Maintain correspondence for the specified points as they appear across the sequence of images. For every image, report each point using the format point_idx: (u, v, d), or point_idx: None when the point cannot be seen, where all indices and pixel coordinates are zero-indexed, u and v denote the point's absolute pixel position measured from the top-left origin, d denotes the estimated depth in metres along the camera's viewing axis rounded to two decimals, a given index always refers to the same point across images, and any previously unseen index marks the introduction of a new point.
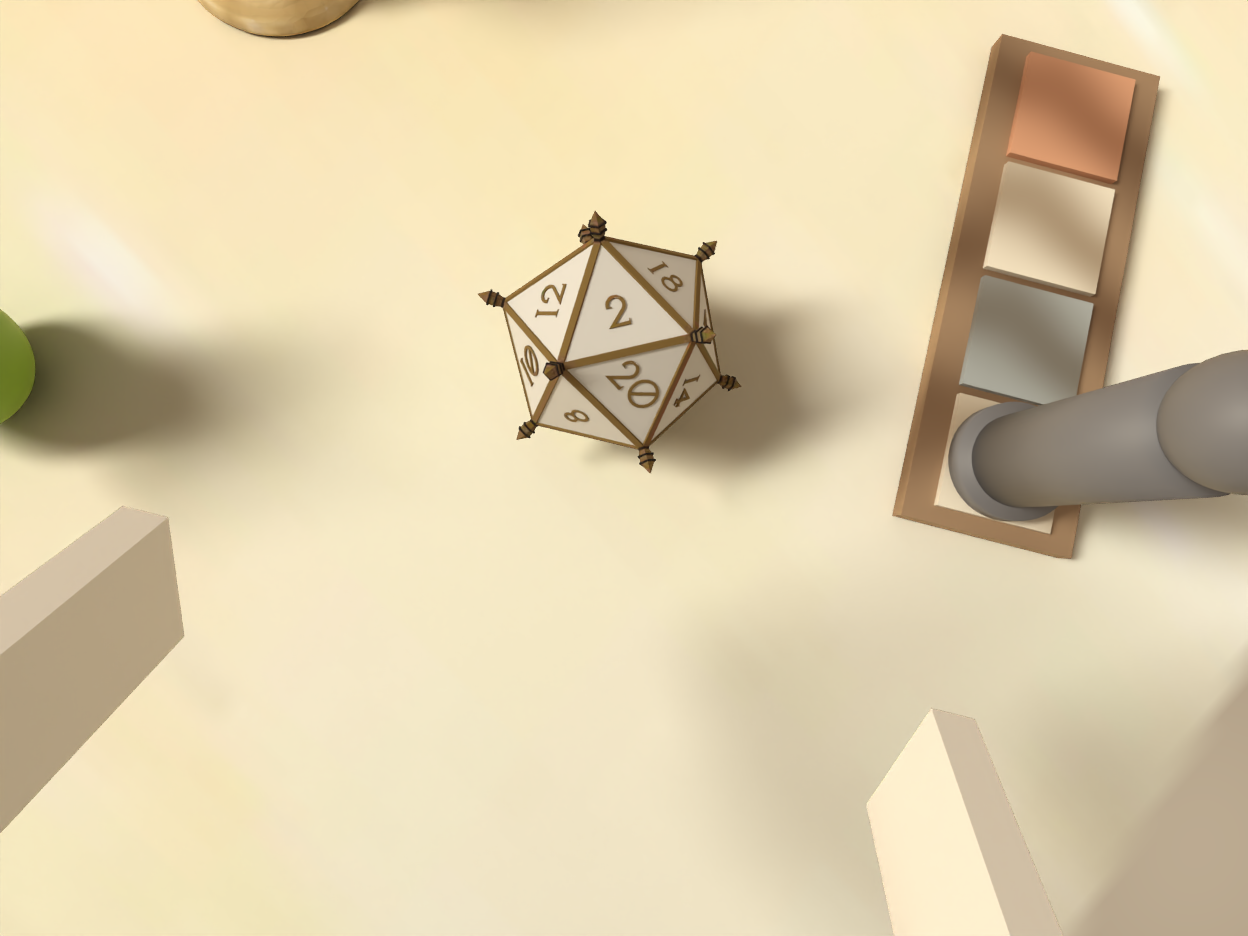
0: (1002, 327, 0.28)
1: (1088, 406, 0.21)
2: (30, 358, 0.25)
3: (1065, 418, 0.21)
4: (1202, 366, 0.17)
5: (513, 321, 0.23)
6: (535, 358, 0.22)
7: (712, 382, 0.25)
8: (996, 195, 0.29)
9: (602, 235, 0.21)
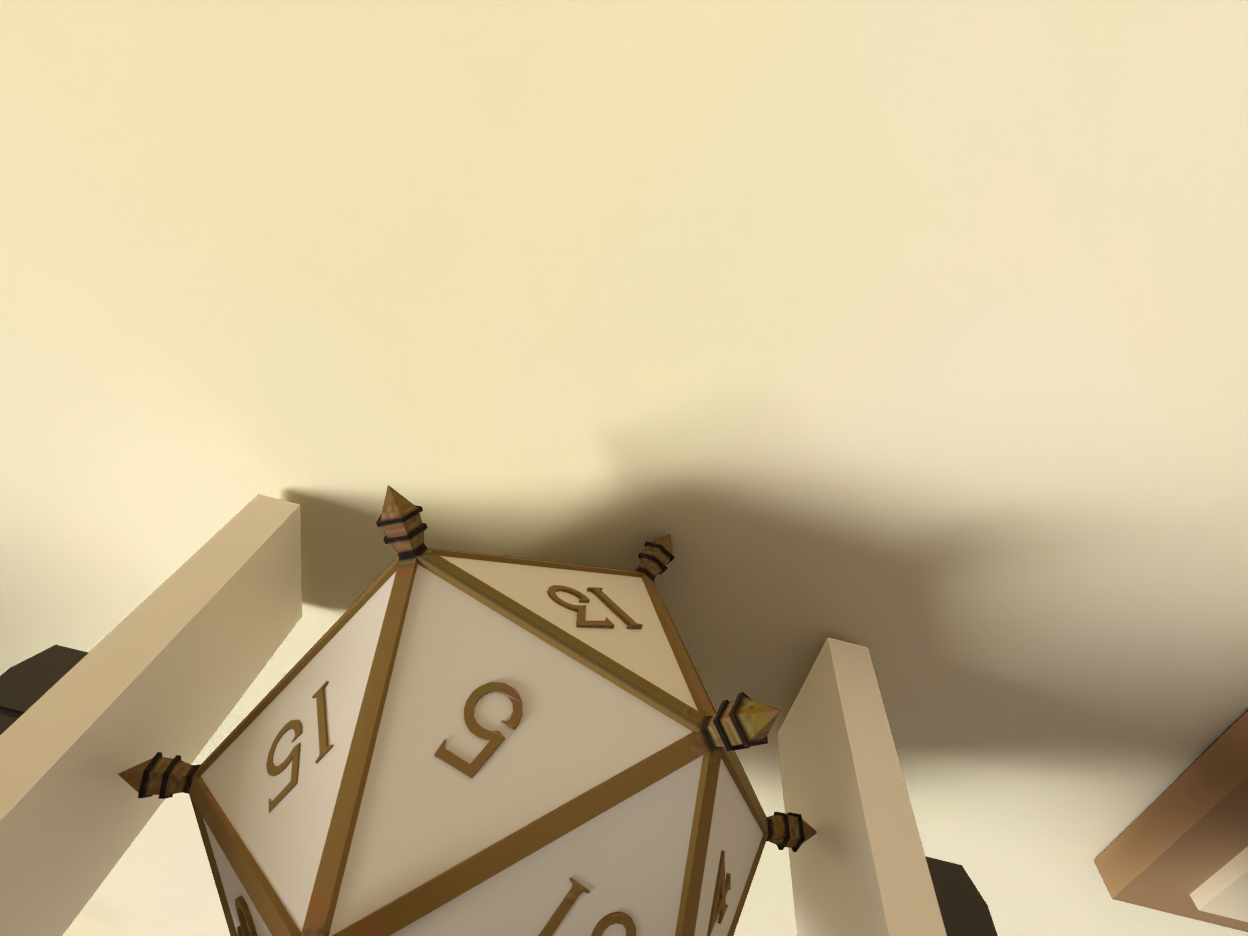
0: None
1: None
2: None
3: None
4: None
5: None
6: None
7: None
8: None
9: None
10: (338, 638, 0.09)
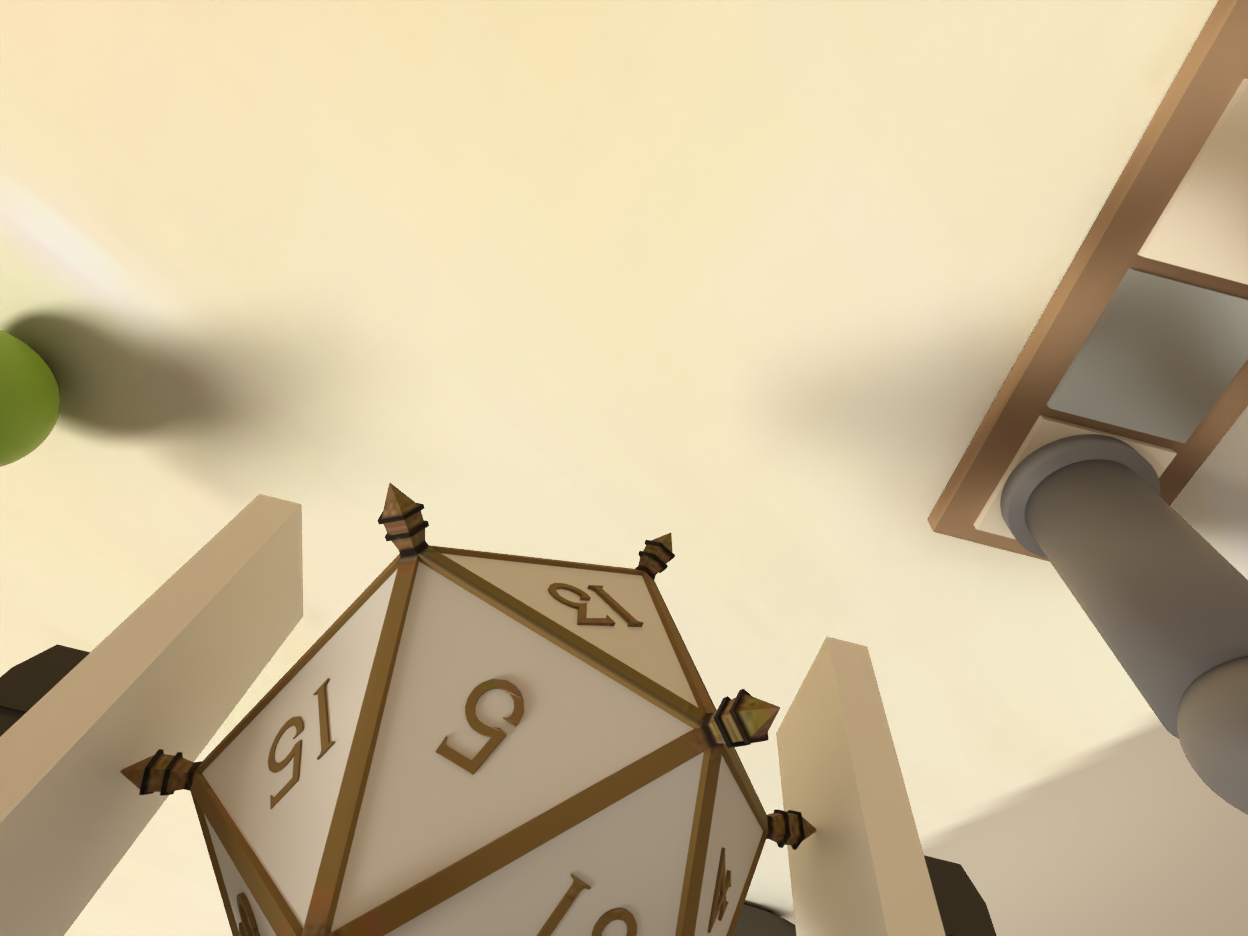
0: (1130, 342, 0.21)
1: (1140, 596, 0.18)
2: (42, 378, 0.25)
3: (1116, 582, 0.19)
4: None
5: None
6: None
7: None
8: (1208, 135, 0.19)
9: None
10: (339, 635, 0.09)
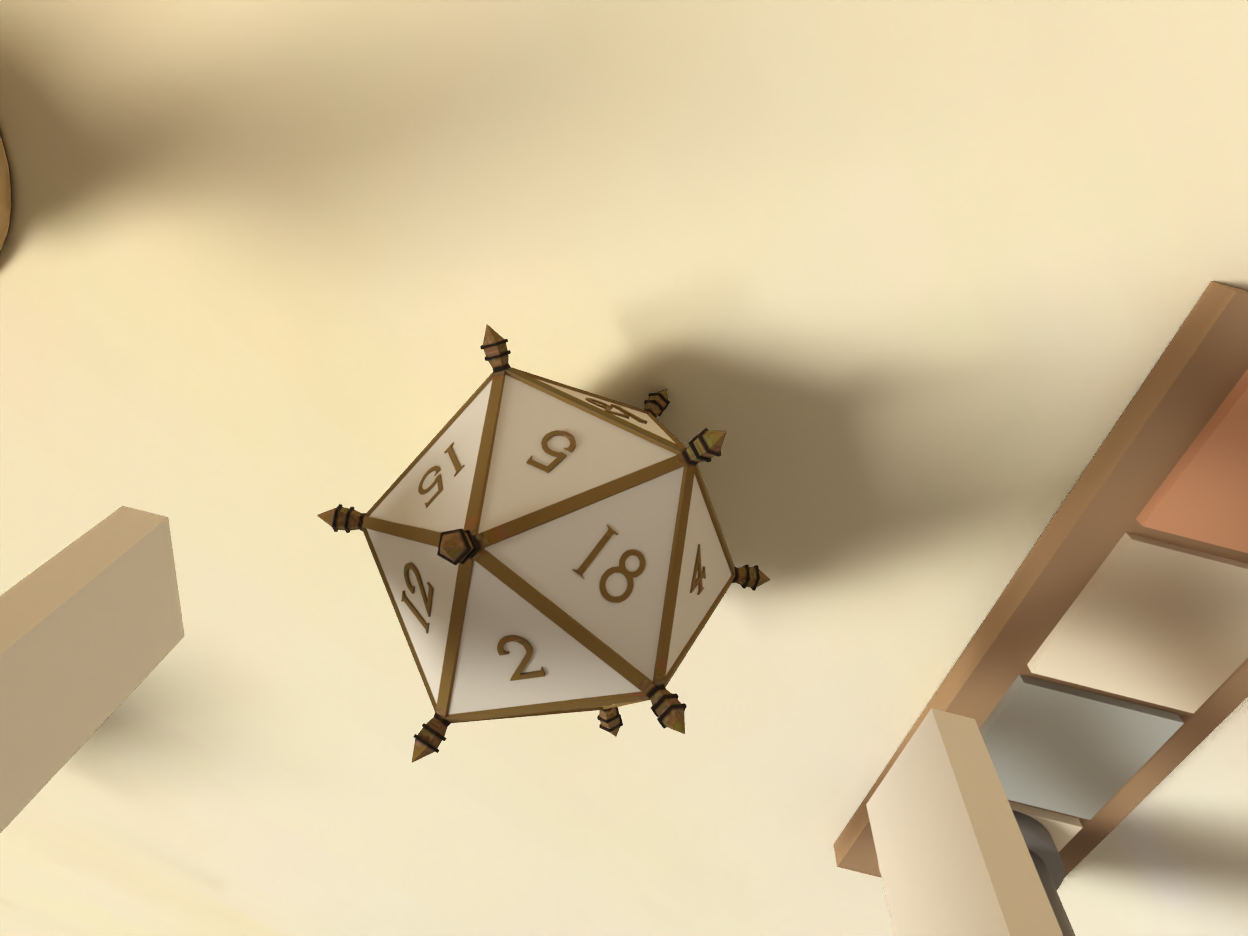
0: (1025, 738, 0.20)
1: None
2: None
3: None
4: None
5: None
6: None
7: None
8: (1092, 574, 0.17)
9: None
10: (456, 422, 0.14)
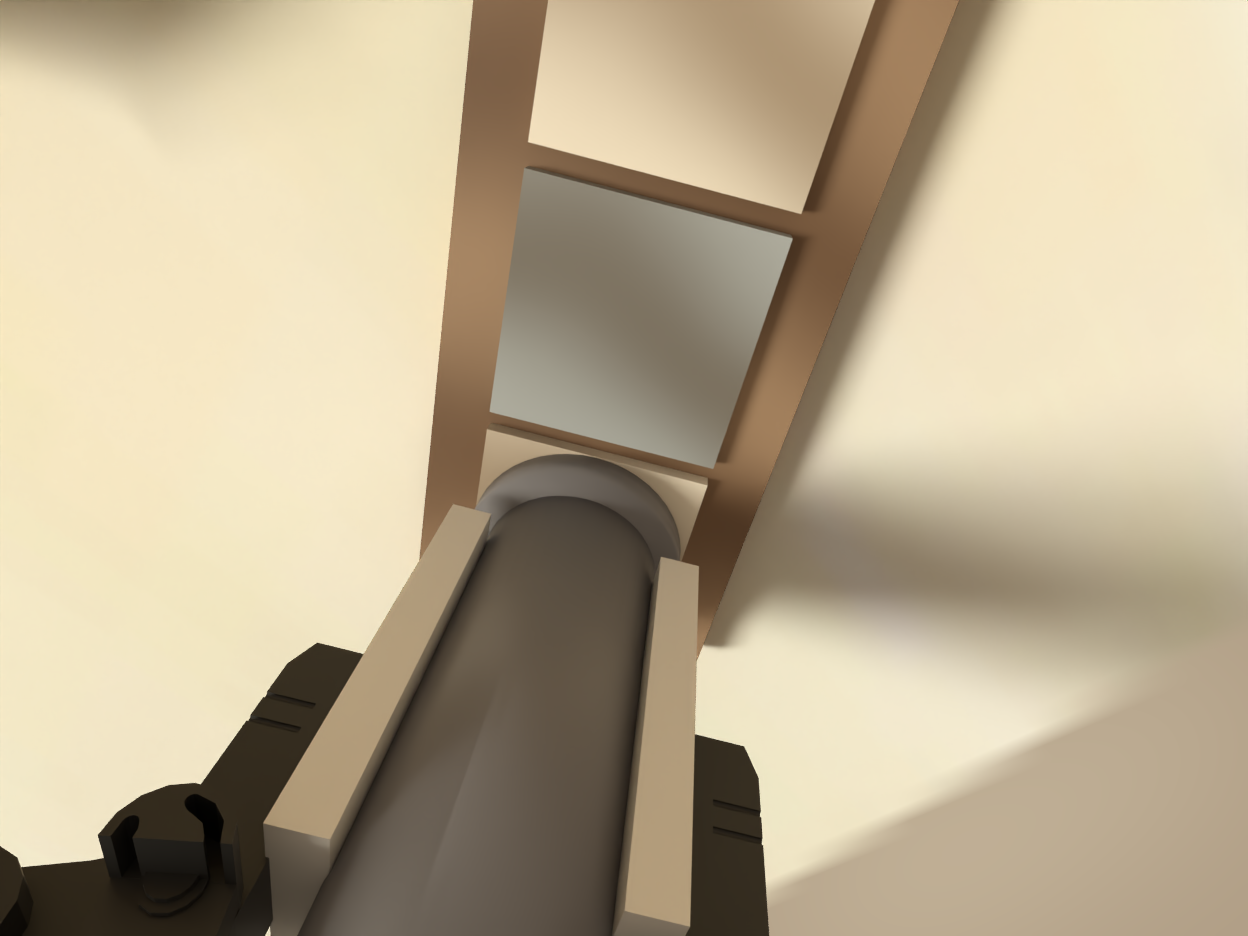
0: (567, 299, 0.12)
1: (372, 782, 0.09)
2: None
3: None
4: None
5: None
6: None
7: None
8: None
9: None
10: None
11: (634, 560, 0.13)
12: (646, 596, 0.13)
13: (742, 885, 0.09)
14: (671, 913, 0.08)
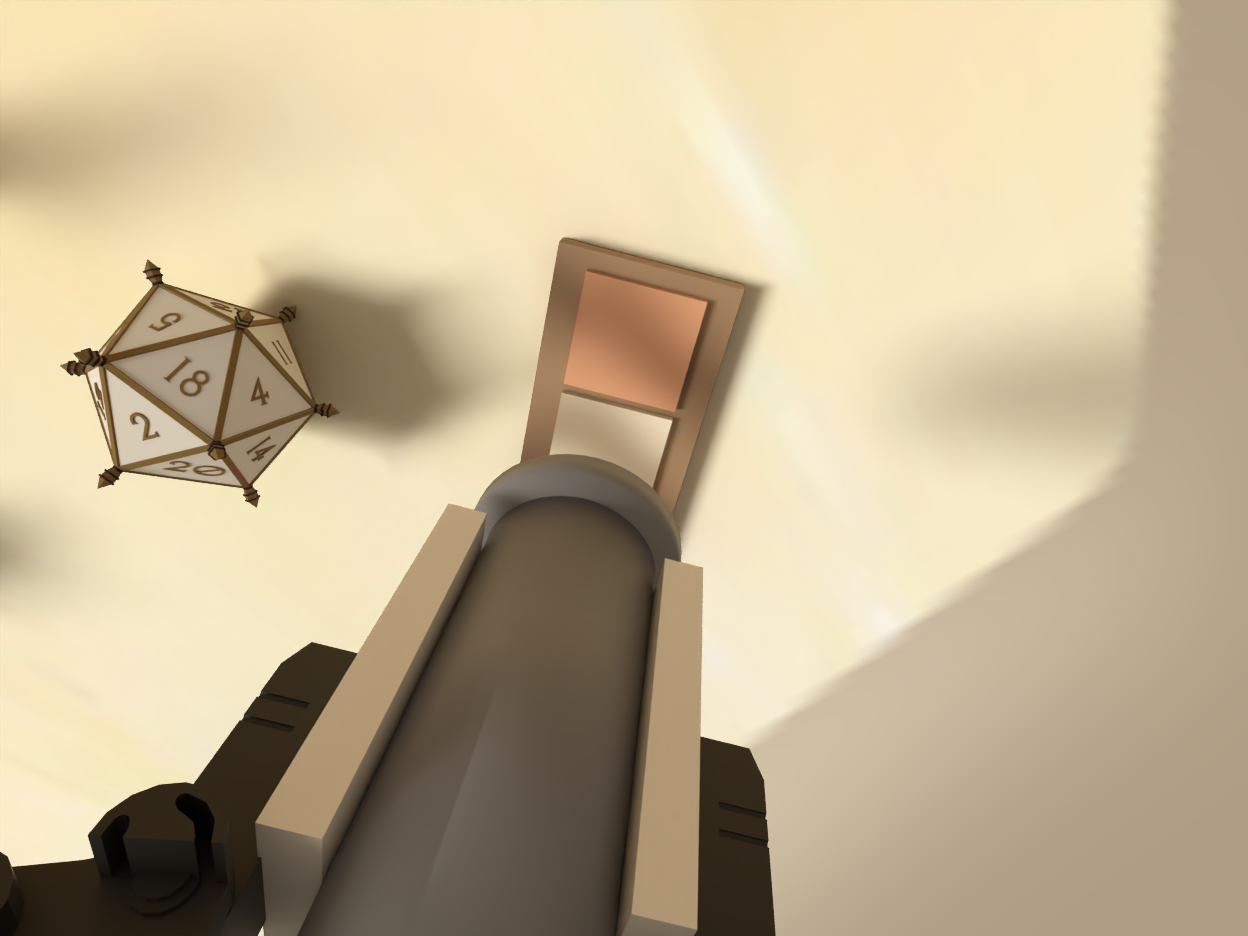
0: None
1: (371, 784, 0.09)
2: None
3: (389, 743, 0.10)
4: None
5: None
6: None
7: (303, 418, 0.27)
8: (556, 418, 0.29)
9: (100, 362, 0.22)
10: (132, 313, 0.25)
11: (635, 560, 0.13)
12: (647, 596, 0.13)
13: (748, 888, 0.09)
14: (678, 917, 0.08)
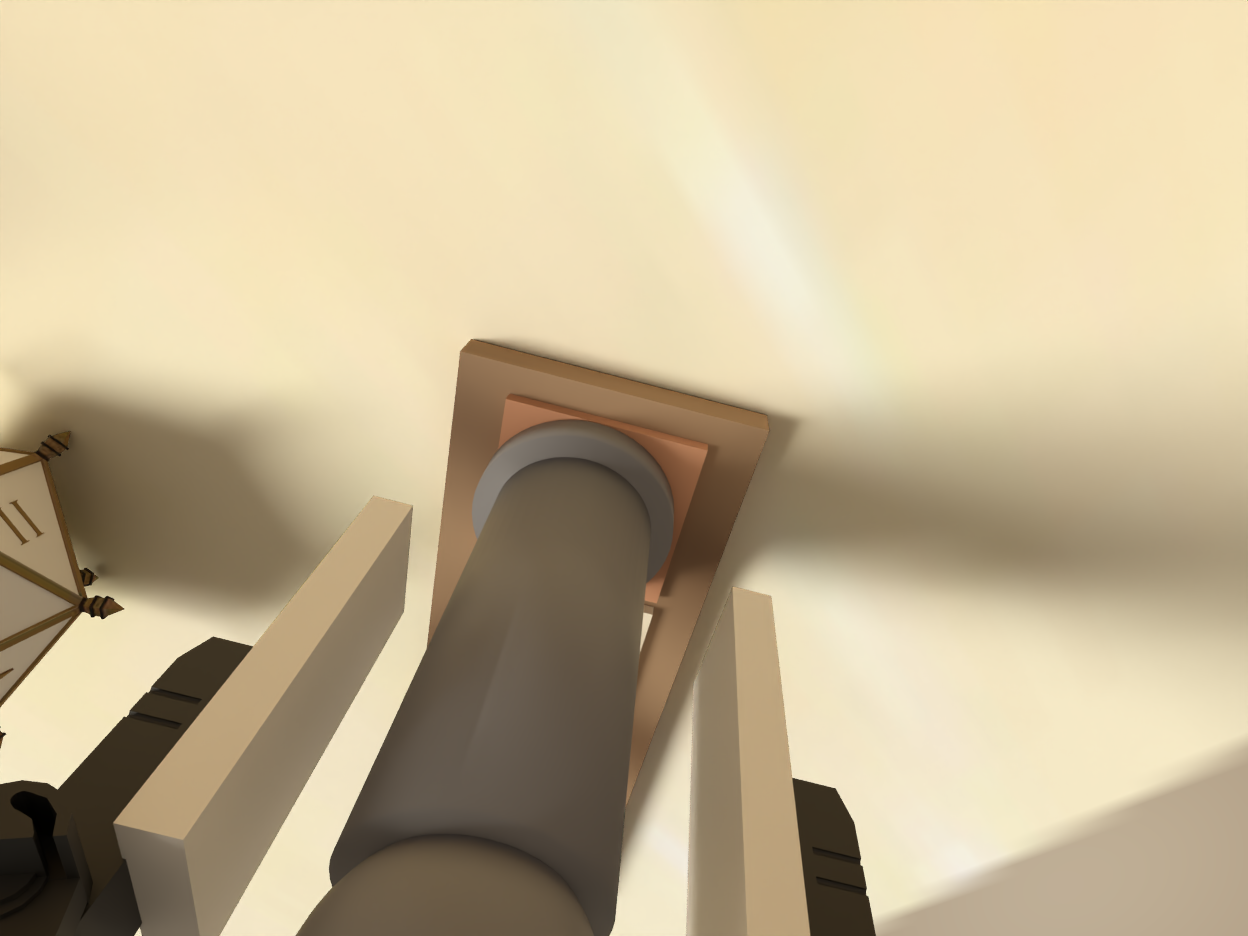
0: None
1: (406, 693, 0.10)
2: None
3: None
4: None
5: None
6: None
7: (61, 623, 0.17)
8: None
9: None
10: None
11: (632, 513, 0.14)
12: (644, 545, 0.14)
13: None
14: None
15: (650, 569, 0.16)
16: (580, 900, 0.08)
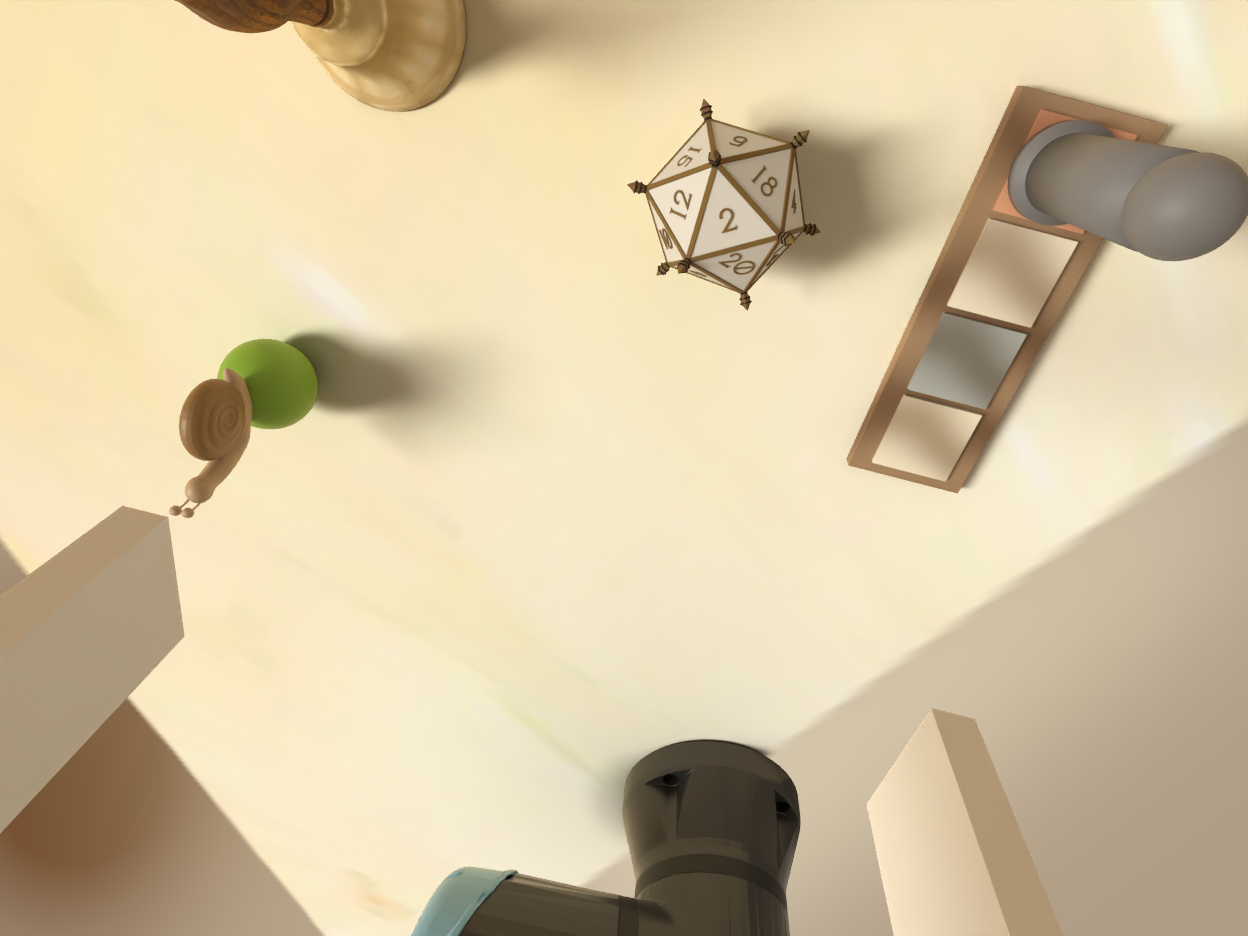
0: (947, 352, 0.38)
1: (1101, 166, 0.27)
2: (314, 373, 0.42)
3: (1085, 170, 0.28)
4: (1165, 166, 0.24)
5: (653, 206, 0.33)
6: (670, 241, 0.32)
7: (797, 234, 0.34)
8: (975, 244, 0.36)
9: (718, 163, 0.29)
10: (689, 141, 0.32)
11: None
12: None
13: None
14: None
15: None
16: None
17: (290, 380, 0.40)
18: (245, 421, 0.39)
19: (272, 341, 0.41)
